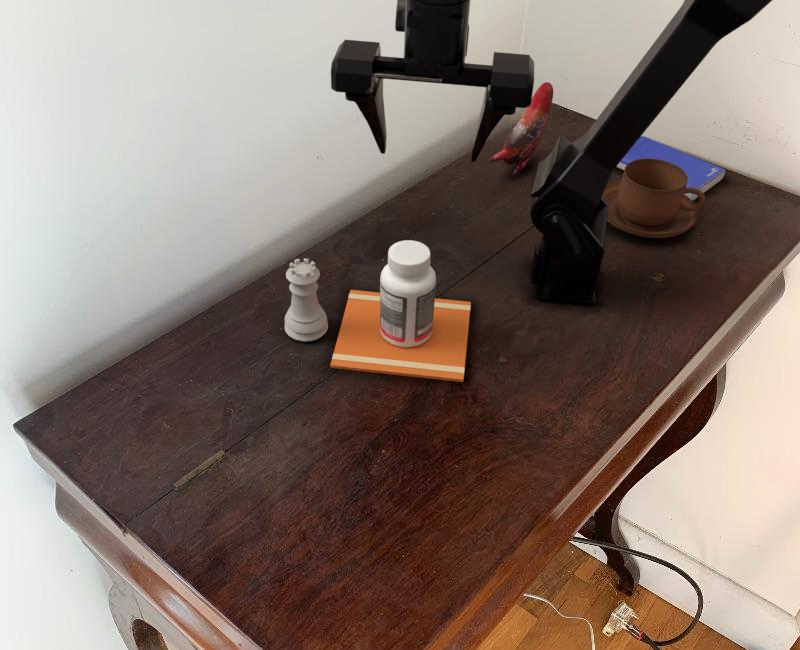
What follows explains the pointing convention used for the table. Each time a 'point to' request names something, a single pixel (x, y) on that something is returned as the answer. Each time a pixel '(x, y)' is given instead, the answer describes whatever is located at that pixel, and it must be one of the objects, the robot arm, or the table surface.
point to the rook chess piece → (304, 303)
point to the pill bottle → (407, 295)
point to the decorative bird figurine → (527, 130)
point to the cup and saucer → (652, 200)
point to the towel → (373, 353)
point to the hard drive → (676, 163)
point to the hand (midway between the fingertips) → (428, 155)
